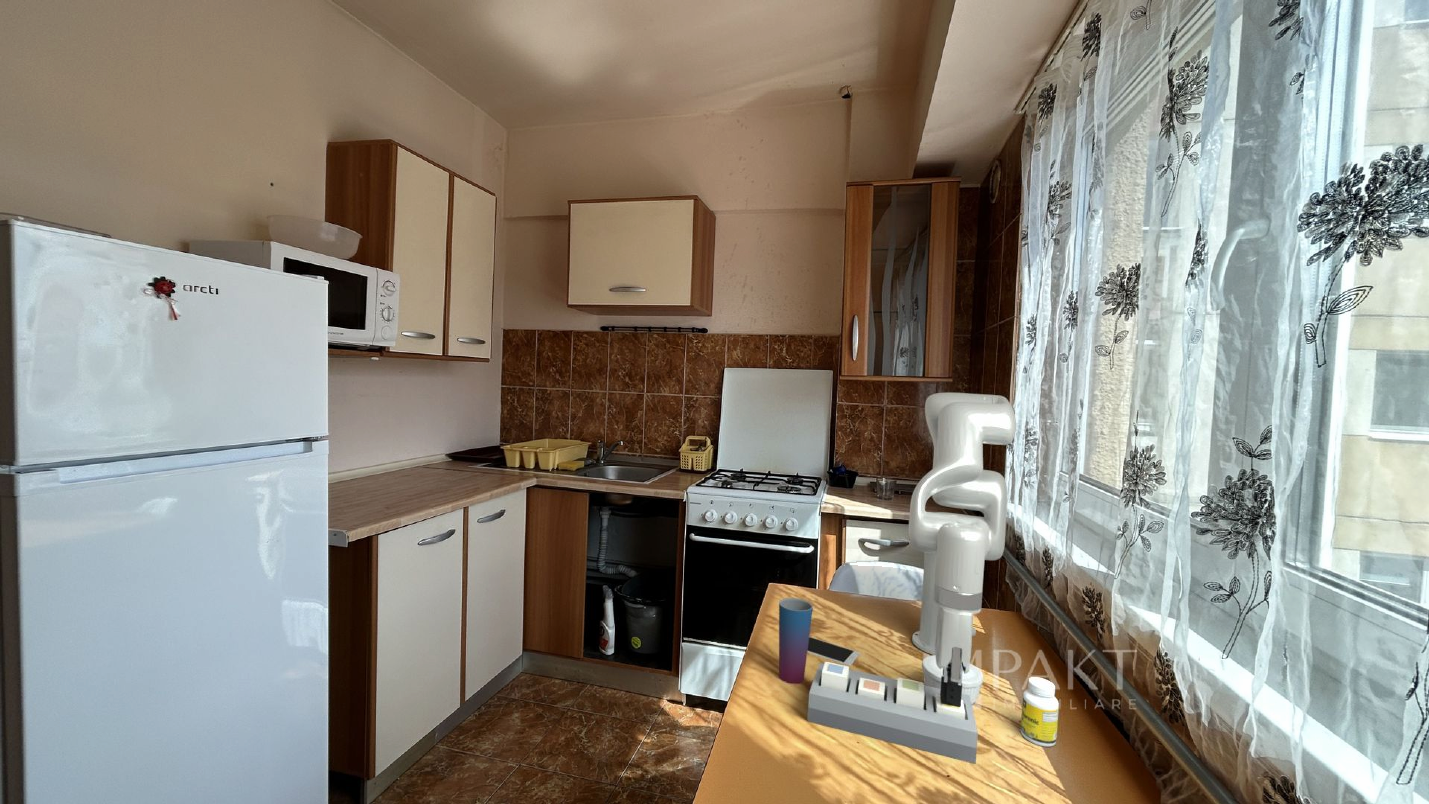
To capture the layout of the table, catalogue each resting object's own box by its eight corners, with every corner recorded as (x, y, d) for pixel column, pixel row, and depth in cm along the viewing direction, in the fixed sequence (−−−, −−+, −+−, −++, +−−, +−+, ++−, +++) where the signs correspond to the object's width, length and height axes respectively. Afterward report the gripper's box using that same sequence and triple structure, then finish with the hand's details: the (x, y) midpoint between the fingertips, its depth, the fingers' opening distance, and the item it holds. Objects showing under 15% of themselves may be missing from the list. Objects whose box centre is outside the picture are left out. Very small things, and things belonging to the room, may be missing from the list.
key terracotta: (857, 705, 98) (858, 688, 98) (859, 693, 102) (860, 676, 102) (883, 711, 97) (884, 693, 97) (883, 699, 101) (885, 681, 101)
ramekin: (978, 686, 113) (979, 661, 113) (985, 716, 102) (987, 688, 102) (919, 674, 117) (921, 650, 116) (921, 701, 106) (923, 674, 106)
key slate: (820, 688, 100) (822, 671, 100) (824, 677, 104) (825, 660, 104) (845, 694, 99) (846, 676, 99) (848, 682, 103) (849, 665, 103)
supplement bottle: (1013, 728, 99) (1017, 674, 99) (1042, 728, 99) (1045, 674, 99) (1033, 748, 93) (1037, 690, 93) (1063, 748, 94) (1067, 691, 94)
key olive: (896, 706, 96) (897, 687, 96) (896, 693, 100) (897, 676, 100) (923, 712, 94) (924, 693, 94) (922, 699, 99) (923, 681, 99)
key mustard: (935, 724, 94) (937, 705, 94) (934, 710, 98) (935, 692, 98) (963, 731, 92) (965, 712, 92) (961, 716, 97) (962, 698, 96)
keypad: (807, 721, 97) (809, 693, 97) (817, 688, 109) (819, 662, 108) (975, 763, 88) (977, 732, 88) (967, 722, 100) (969, 695, 100)
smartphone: (849, 665, 118) (786, 644, 126) (849, 668, 118) (786, 647, 126) (861, 652, 124) (799, 633, 133) (860, 655, 124) (799, 635, 133)
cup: (807, 688, 108) (812, 612, 108) (773, 683, 109) (777, 608, 109) (808, 671, 115) (813, 600, 114) (776, 666, 116) (780, 596, 116)
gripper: (931, 580, 103) (925, 678, 103) (936, 608, 89) (928, 721, 89) (976, 587, 100) (969, 687, 101) (987, 617, 86) (979, 733, 87)
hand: (950, 703), depth 95 cm, fingers closed
